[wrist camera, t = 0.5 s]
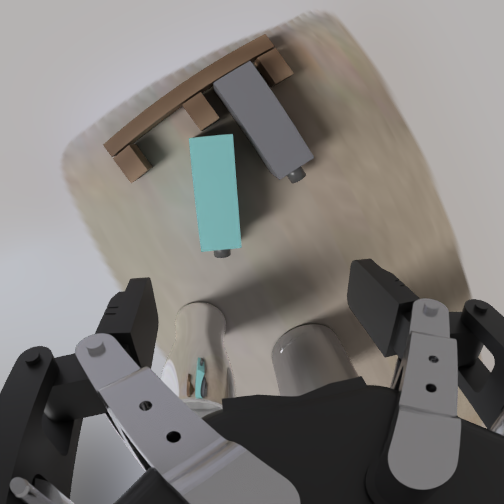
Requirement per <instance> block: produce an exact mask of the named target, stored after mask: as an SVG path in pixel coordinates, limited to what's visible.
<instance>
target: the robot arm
mask: <svg viewBox="0 0 504 504" xmlns="http://www.w3.org/2000/svg"><path fill="white" fill-rule="evenodd" d="M347 300H348V305H349V307H350V309H351V310H352V312H353V313H354V315H355V316H356V317H357V319H358V320H359V321H360V323H361V324H362V326H363V327H364V328H365V330H366V331H367V333H368V334H369V335H370V337H371V338H372V340H373V341H374V342H375V344H376V345H377V347H378V348H379V349H380V351H381V352H382V354H383V355H384V357H389V356H393V355H398V359H397V362H396V366H395V370H394V374H393V379H392V383H391V387H390V388H388V387H383V386H374V385H366V383H365V381H364V380H363V378H362V376H360V377H359V376H358V374H357V372H356V370H355V369H354V367H353V365H352V363H351V361H350V359H349V357H348V356H347V353H346V352H345V350H344V348H343V346H342V344H341V342H340V341H339V339H338V337H337V335H336V334H335V332H334V331H332V330H331V329H330V328H328V327H326V326H323V325H319V324H309V325H303V326H300V327H296V328H294V329H292V330H290V331H289V332H287V333H286V334H284V335H283V336H282V337H281V338H280V339H279V340H278V341H277V343H276V344H275V346H274V349H273V351H272V362H273V366H274V370H275V374H276V378H277V383H278V387H279V391H280V395H281V396H271V395H252V396H243V397H233V398H222V408H223V409H221V410H217V411H215V412H212V413H210V414H207V415H205V416H203V417H202V418H200V417H199V416H198V415H197V414H196V413H195V412H194V411H193V410H191V409H190V408H189V407H188V406H187V405H186V404H185V403H184V402H183V401H182V400H181V399H180V398H179V397H178V396H177V395H176V394H175V393H174V392H173V391H172V390H171V389H170V388H169V387H168V386H167V385H166V384H165V383H164V382H163V381H162V380H161V379H160V378H159V377H158V376H157V375H156V374H155V373H154V372H153V371H152V370H151V366H152V360H153V354H154V348H155V342H156V337H157V331H158V313H157V308H156V303H155V298H154V293H153V288H152V283H151V280H150V278H149V277H148V278H134V279H130V281H129V283H128V286H127V288H126V290H125V292H118V293H117V294H116V295H115V296H114V297H113V298H111V300H110V302H109V304H108V306H107V309H106V310H105V313H104V315H103V317H102V319H101V321H100V324H99V326H98V328H97V331H96V333H95V334H94V335H90V336H88V337H86V338H84V339H83V340H81V341H80V342H79V343H78V345H77V346H76V349H75V353H74V354H71V355H66V356H61V357H57V358H54V356H53V354H52V352H51V350H50V349H49V348H47V347H43V346H37V347H33V348H30V349H28V350H26V351H24V352H23V353H22V354H21V355H20V356H19V357H18V359H17V361H16V363H15V364H14V367H13V368H12V370H11V372H10V374H9V377H8V378H7V380H6V382H5V385H4V387H3V389H2V391H1V393H0V504H74V503H73V502H72V501H70V492H71V483H72V477H73V470H74V464H75V457H76V452H77V446H78V441H79V435H80V430H81V425H82V421H83V418H84V417H89V416H94V415H98V414H103V413H104V414H105V415H106V417H107V418H108V420H109V421H110V423H111V424H112V426H113V427H114V429H115V430H116V432H117V433H118V434H119V436H120V437H121V439H122V440H123V442H124V443H125V444H126V445H127V447H128V448H129V450H130V451H131V453H132V454H133V456H134V457H135V458H136V460H137V461H138V463H139V464H140V465H141V467H142V468H143V469H144V471H145V473H144V474H143V475H142V476H141V477H140V478H139V479H138V480H137V481H136V482H135V483H134V484H133V485H132V486H131V488H129V489H128V490H127V491H126V492H125V493H124V494H123V495H122V496H121V497H120V498H119V499H118V500H117V501H116V502H115V503H114V504H504V317H503V316H502V315H501V314H500V313H499V312H498V311H497V310H495V309H494V308H493V307H492V306H491V305H489V304H488V303H486V302H484V301H481V300H476V299H472V300H468V301H466V303H465V305H464V308H463V311H462V312H449V311H448V309H447V307H446V306H445V305H444V304H442V303H441V302H439V301H437V300H433V299H428V298H423V299H420V298H419V297H418V296H416V295H415V294H414V293H413V292H412V291H411V290H410V289H409V288H408V287H407V286H405V284H403V283H402V282H401V281H399V279H398V278H397V277H396V276H395V275H393V274H392V273H390V272H388V271H386V270H384V269H382V268H381V267H380V266H378V265H377V264H376V263H375V262H374V261H373V260H372V259H361V260H354V261H352V263H351V268H350V276H349V285H348V292H347ZM483 345H485V346H486V348H487V349H488V350H489V351H490V352H491V353H492V354H493V356H494V359H495V366H494V368H493V370H492V372H490V371H489V370H488V369H487V368H486V366H485V365H484V364H483V363H482V362H481V360H480V359H479V358H478V356H479V354H480V352H481V350H482V347H483ZM458 386H459V388H460V389H461V391H462V392H463V393H464V395H465V396H466V398H467V399H468V401H469V402H470V403H471V405H472V406H473V408H474V409H475V411H476V412H477V414H478V415H479V417H480V418H481V420H482V421H483V423H484V424H485V426H486V427H487V429H486V428H483V427H481V426H478V425H476V424H474V423H471V422H469V421H466V420H464V419H461V418H459V417H458V416H457V396H458Z"/></svg>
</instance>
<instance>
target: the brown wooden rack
mask: <svg viewBox="0 0 504 504" xmlns="http://www.w3.org/2000/svg"><path fill="white" fill-rule="evenodd" d="M273 47H274V45H273V44H272V42H271V41H270V40H269V38H268V37H267V36H266V34H264V35H262V36H260V37H258V38H256V39H255V40H253V41H251V42H249V43H247V44H245V45H243V46H242V47H240V48H238V49H236V50H235V51H233V52H231V53H229V54H228V55H226V56H224V57H223V58H221V59H219V60H218V61H216V62H214V63H213V64H211V65H209V66H208V67H206V68H205V69H203V70H201V71H200V72H198V73H197V74H195V75H194V76H192V77H191V78H189V79H188V80H186V81H185V82H183V83H182V84H180V85H179V86H177V87H176V88H174V89H173V90H172V91H170V92H169V93H167V94H166V95H165V96H163V97H162V98H161V99H159V100H158V101H156V102H155V103H154V104H152V105H151V106H150V107H148V108H147V109H146V110H145V111H143V112H142V113H141V114H139V115H138V116H137V117H136V118H134V119H133V120H132V121H131V122H129V123H128V124H127V125H126V126H124V127H123V128H122V129H121V130H120V131H119V132H117V133H116V134H115V135H114V136H113V137H111V138H110V139H109V140H108V141H107V142H106V143H105V144H103V145H104V147H105V148H106V150H107V151H108V152H109V154H110V155H111V156H112V157H113V156H115V157H114V158H113V159H114V161H115V162H116V163H117V165H118V166H119V167H120V169H121V170H122V172H123V173H124V174H125V176H126V177H127V178H128V180H129V181H130V182H131V183H132V182H134V181H136V180H137V179H138V178H140V177H141V176H142V175H143V174H145V173H146V172H147V171H149V170H150V169H151V168H152V165H151V164H150V163H149V161H148V160H147V159H146V157H145V156H144V154H143V153H142V152H141V150H140V149H139V148H138V146H137V145H136V144H133V143H134V142H136V141H137V140H138V139H139V138H141V137H142V136H143V135H144V134H146V133H147V132H148V131H150V130H151V129H152V128H153V127H155V126H156V125H157V124H159V123H160V122H161V121H163V120H164V119H165V118H167V117H168V116H170V115H171V114H172V113H174V112H175V111H176V110H178V109H179V108H181V107H182V106H183V107H184V108H185V110H186V111H187V112H188V114H189V115H190V117H191V118H192V119H193V121H194V122H195V123H196V125H197V126H198V128H199V129H200V130H201V131H203V130H204V129H206V128H207V127H209V126H210V125H212V124H213V123H215V122H216V121H218V120H219V117H218V115H217V114H216V113H215V111H214V110H213V108H212V107H211V106H210V104H209V103H208V101H207V100H206V99H205V97H204V96H203V94H202V93H203V92H204V91H206V90H207V89H209V88H210V87H212V86H213V83H214V82H215V81H217V80H219V79H220V78H222V77H224V76H225V75H227V74H228V73H230V72H232V71H233V70H235V69H237V68H238V67H240V66H242V65H244V64H245V63H247V62H249V61H251V62H253V61H255V60H256V61H255V63H254V64H255V65H256V67H257V68H258V69H259V71H260V72H261V74H262V75H263V76H264V78H265V79H266V81H267V82H268V84H269V85H270V87H272V86H274V85H276V84H278V83H279V82H281V81H283V80H285V79H286V78H288V77H290V76H291V75H292V74H294V73H293V72H292V70H291V69H290V67H289V66H288V65H287V63H286V62H285V60H284V59H283V57H282V56H281V55H280V53H279V52H278V50H277V49H276V48H274V49H273Z"/></svg>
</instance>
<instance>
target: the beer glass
mask: <svg viewBox="0 0 504 504" xmlns="http://www.w3.org/2000/svg"><path fill="white" fill-rule="evenodd" d="M175 330H176V339H175V342H174V344H173V346H172V348H171V351H170V353H169V355H168V357H167V360H166V362H165V365H164V368H163V371H162V375H161V380H162V381H163V382H164V383H165V384H166V385H167V386H168V387H169V388H170V389H171V390H172V391H173V392H174V393H175V394H176V395H177V396H178V397H179V398H180V399H181V400H182V401H183V402H184V403H185V404H186V405H187V406H188V407H189V408H190V409H191V410H193V411H194V412H195V413H196V414H197V415H198V416H199V417H200V418H202V417H203V416H205V415H207V414H210V413H212V412H215V411H217V410H221V409H223V408H222V398H233V397H236V386H235V379H234V374H233V370H232V366H231V363H230V360H229V357H228V355H227V352H226V349H225V346H224V341H223V338H224V334H225V330H226V320H225V317H224V315H223V314H222V312H221V311H220V310H219V309H218V308H216V307H215V306H213V305H211V304H208V303H204V302H195V303H191V304H188V305H186V306H184V307H183V308H181V309H180V311H179V312H178V313H177V315H176V318H175Z"/></svg>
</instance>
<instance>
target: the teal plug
mask: <svg viewBox="0 0 504 504" xmlns="http://www.w3.org/2000/svg"><path fill="white" fill-rule="evenodd" d="M189 144H190V155H191V166H192V176H193V185H194V195H195V204H196V212H197V221H198V229H199V237H200V245H201V252H204V251H214V256H215V257H217V258H225V257H228V256H230V254H231V253H230V249H234V248H241V235H240V222H239V210H238V197H237V184H236V170H235V157H234V143H233V134H223V135H212V136H202V137H193V138H189Z"/></svg>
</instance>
